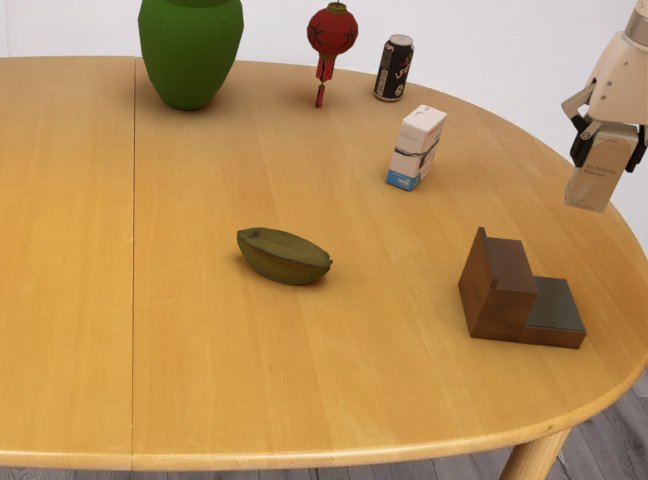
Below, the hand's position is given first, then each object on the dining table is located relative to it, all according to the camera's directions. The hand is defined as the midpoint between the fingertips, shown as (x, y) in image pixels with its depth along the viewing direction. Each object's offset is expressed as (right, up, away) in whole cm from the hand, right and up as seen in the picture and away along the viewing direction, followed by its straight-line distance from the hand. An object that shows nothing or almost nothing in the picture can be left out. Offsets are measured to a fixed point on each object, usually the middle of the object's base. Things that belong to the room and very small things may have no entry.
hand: (601, 163), depth 114 cm
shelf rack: (-6, -19, +13) cm, 24 cm away
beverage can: (-11, +25, +62) cm, 68 cm away
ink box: (-13, +5, +40) cm, 42 cm away
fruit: (-39, -13, +19) cm, 45 cm away
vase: (-52, +23, +57) cm, 80 cm away
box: (0, -4, +4) cm, 6 cm away
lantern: (-26, +22, +57) cm, 67 cm away
